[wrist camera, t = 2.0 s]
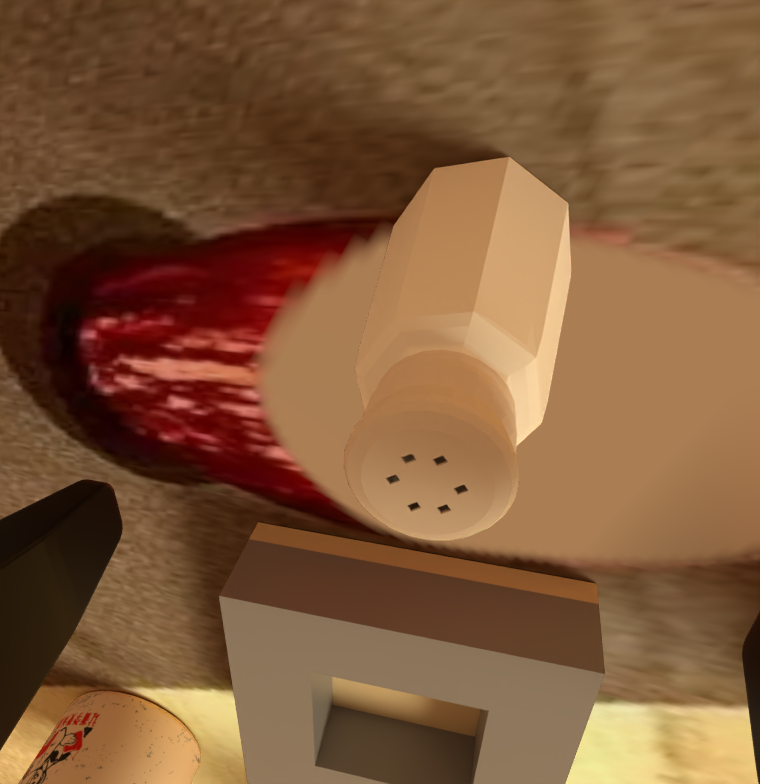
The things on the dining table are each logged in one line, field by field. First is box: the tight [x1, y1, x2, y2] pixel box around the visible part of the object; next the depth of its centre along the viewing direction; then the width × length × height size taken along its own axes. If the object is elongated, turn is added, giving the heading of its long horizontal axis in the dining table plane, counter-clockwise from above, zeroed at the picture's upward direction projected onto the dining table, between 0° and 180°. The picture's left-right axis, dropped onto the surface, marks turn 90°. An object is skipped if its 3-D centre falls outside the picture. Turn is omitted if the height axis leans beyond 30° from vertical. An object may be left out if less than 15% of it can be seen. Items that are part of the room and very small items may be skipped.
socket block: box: [219, 522, 605, 784], centre depth 28 cm, size 14×14×4 cm
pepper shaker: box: [344, 157, 571, 541], centre depth 15 cm, size 5×5×11 cm
